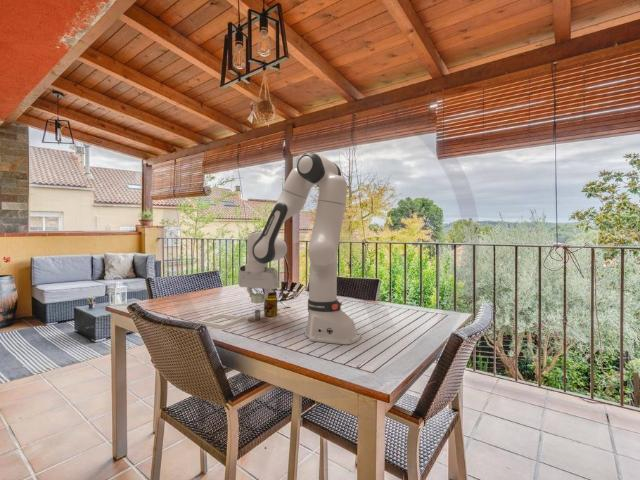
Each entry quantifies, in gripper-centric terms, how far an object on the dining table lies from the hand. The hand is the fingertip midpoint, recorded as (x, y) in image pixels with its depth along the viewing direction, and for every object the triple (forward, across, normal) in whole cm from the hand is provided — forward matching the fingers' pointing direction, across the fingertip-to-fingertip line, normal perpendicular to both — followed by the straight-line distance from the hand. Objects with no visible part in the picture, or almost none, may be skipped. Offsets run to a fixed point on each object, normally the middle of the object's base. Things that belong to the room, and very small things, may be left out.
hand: (258, 297), depth 155 cm
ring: (+2, 0, 0) cm, 2 cm away
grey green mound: (+11, +1, 0) cm, 11 cm away
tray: (+10, +12, +11) cm, 19 cm away
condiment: (+11, +1, -10) cm, 15 cm away
